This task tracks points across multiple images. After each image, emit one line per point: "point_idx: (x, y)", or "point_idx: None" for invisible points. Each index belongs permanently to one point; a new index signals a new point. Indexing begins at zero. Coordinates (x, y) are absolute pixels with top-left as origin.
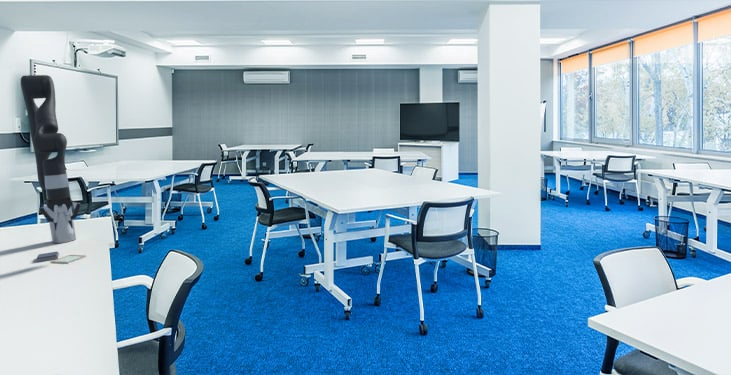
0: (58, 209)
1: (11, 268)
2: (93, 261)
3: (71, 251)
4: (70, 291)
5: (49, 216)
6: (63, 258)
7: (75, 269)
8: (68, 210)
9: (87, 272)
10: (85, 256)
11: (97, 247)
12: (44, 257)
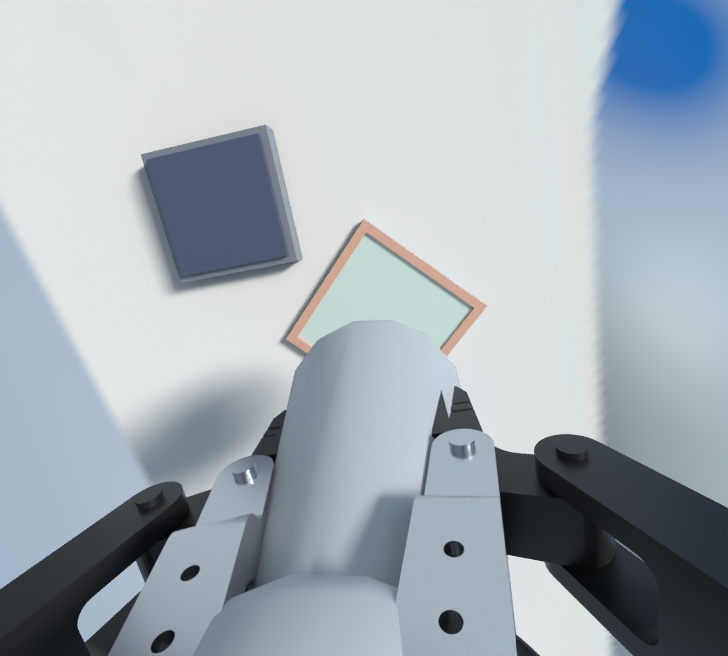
0: None
1: (98, 346)
2: None
3: (339, 54)
4: None
5: (117, 571)
6: (344, 290)
7: None
8: (506, 584)
9: (530, 619)
10: (480, 311)
11: (532, 13)
12: (223, 268)
